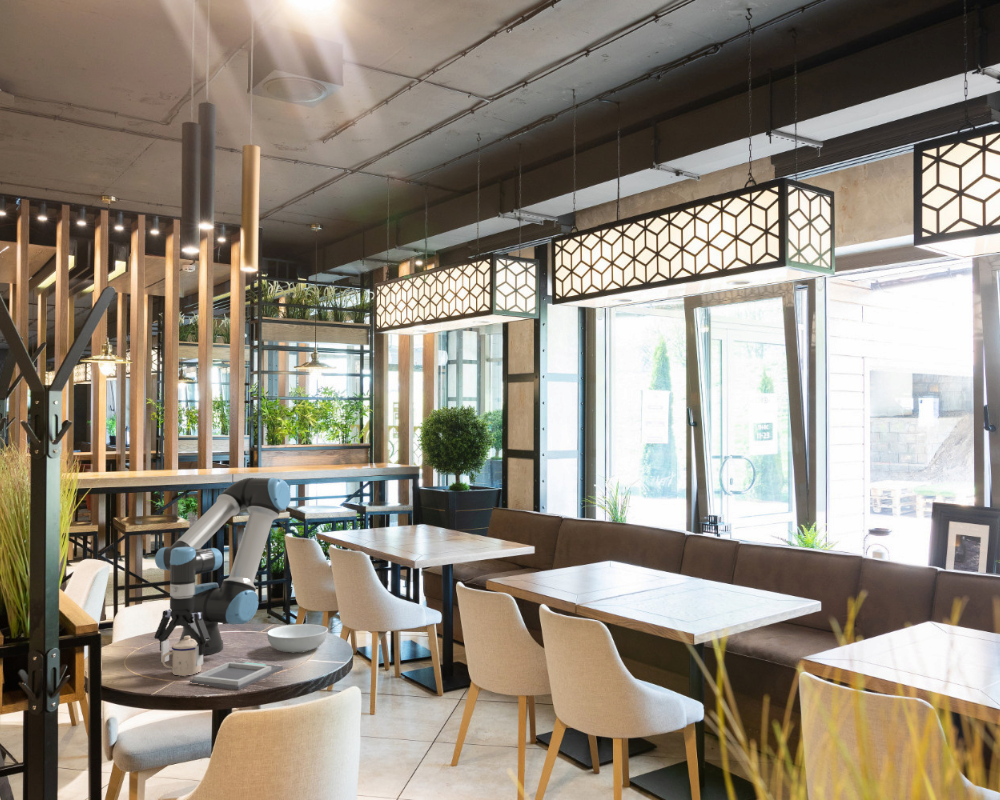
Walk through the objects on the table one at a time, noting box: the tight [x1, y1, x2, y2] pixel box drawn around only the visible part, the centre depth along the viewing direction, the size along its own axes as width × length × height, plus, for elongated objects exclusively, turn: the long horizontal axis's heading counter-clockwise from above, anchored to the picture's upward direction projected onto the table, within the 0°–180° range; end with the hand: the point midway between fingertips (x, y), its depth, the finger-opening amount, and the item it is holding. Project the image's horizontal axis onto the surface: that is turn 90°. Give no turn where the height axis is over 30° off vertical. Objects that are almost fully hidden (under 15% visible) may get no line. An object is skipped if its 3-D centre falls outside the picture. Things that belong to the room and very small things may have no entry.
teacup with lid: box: [161, 636, 202, 675], centre depth 259 cm, size 12×9×12 cm
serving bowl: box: [266, 623, 329, 653], centre depth 286 cm, size 21×21×7 cm
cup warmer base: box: [189, 660, 283, 691], centre depth 255 cm, size 18×22×2 cm
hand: (182, 663), depth 259 cm, fingers open, 13 cm apart
